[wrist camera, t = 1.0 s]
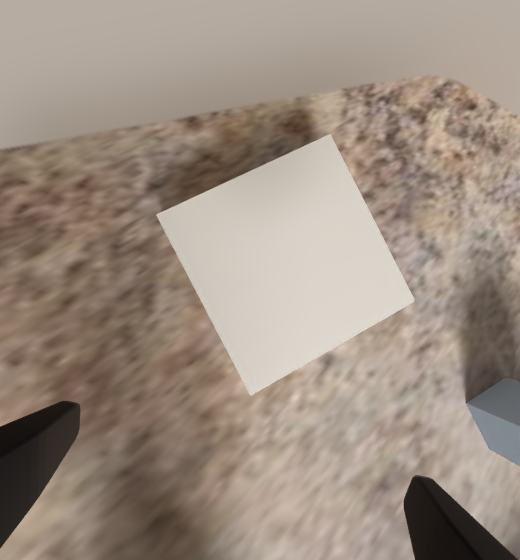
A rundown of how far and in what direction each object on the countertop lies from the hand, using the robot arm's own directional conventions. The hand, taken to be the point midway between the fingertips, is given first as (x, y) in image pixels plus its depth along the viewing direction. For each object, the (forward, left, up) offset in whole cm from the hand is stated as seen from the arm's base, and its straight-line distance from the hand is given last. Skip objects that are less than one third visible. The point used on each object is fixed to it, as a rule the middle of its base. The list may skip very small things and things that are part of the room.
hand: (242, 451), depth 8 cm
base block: (+4, -6, -14) cm, 16 cm away
